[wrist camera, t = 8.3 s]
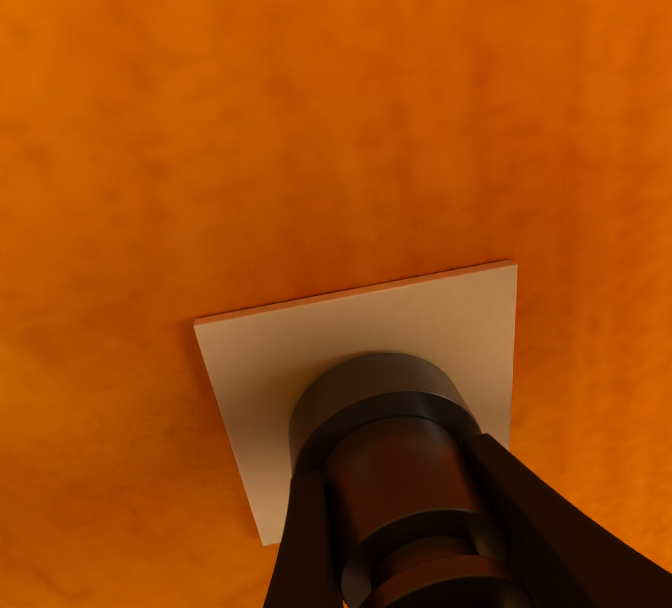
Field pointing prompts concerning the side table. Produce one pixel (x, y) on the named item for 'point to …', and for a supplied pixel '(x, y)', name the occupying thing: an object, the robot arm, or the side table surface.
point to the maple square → (347, 343)
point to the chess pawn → (402, 487)
